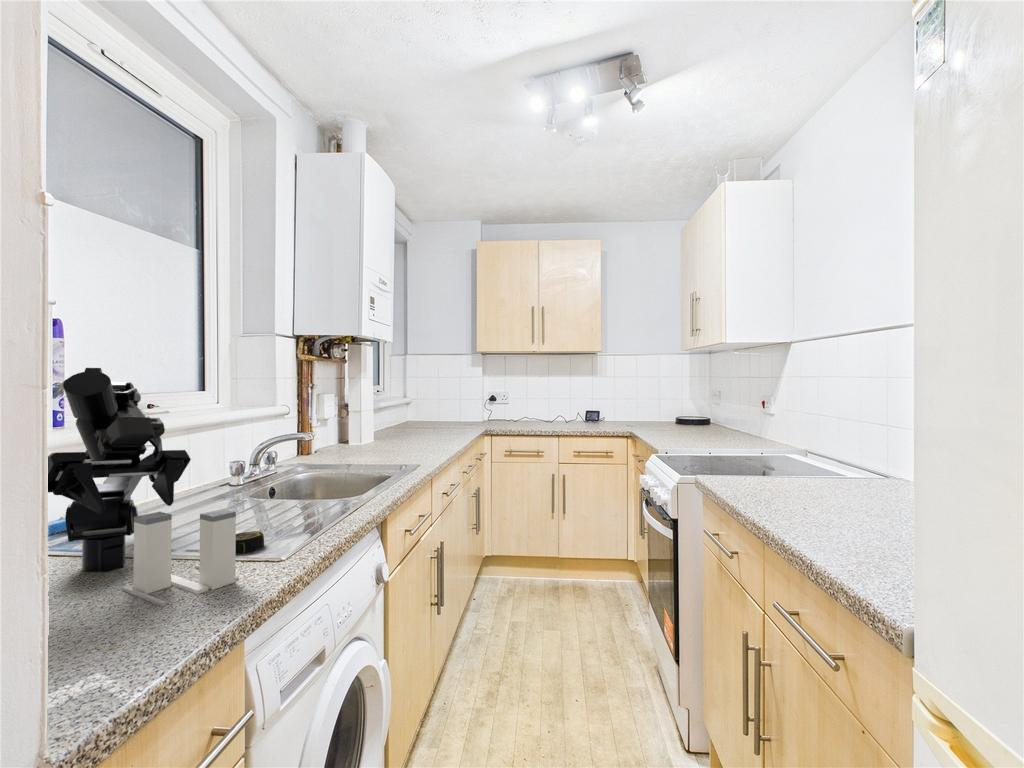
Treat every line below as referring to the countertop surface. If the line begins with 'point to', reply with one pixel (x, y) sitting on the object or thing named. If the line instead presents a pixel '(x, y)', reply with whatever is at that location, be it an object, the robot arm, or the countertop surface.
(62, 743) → the countertop surface
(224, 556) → the tab
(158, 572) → the tab
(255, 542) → the tape measure
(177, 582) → the switch board
